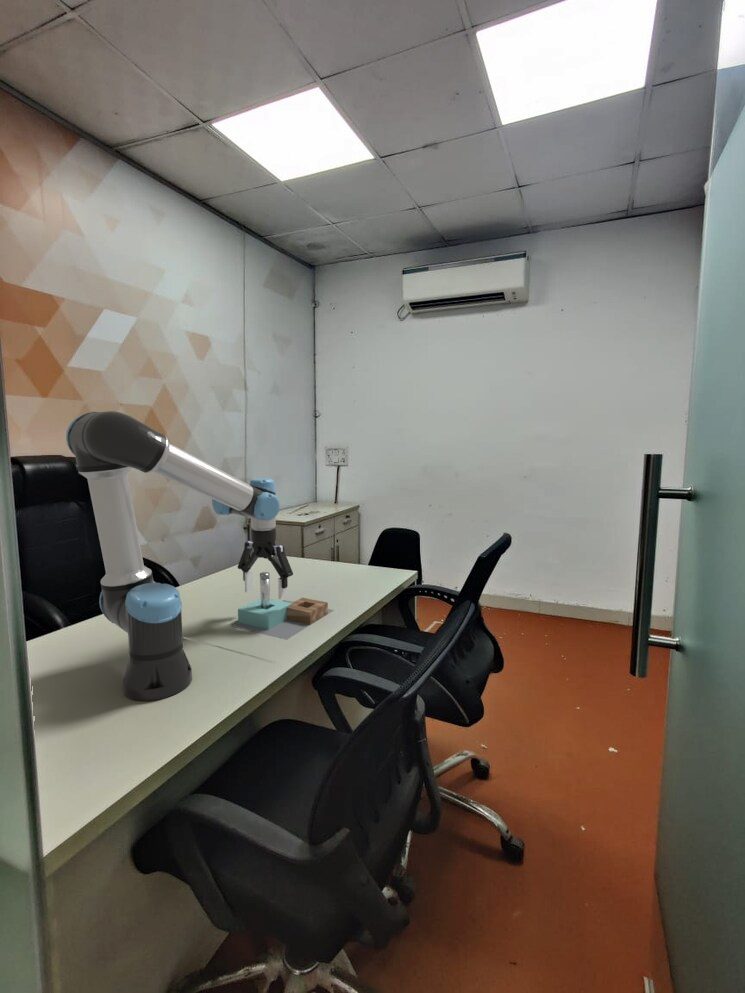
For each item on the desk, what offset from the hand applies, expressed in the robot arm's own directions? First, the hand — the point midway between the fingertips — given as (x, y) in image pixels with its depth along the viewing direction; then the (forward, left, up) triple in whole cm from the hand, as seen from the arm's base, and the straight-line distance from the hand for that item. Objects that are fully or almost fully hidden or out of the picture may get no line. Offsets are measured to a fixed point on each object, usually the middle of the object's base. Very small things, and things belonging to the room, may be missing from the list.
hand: (265, 594), depth 152 cm
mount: (+8, -10, -8) cm, 15 cm away
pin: (0, 0, -8) cm, 8 cm away
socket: (0, 0, -8) cm, 8 cm away
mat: (+4, -4, -9) cm, 11 cm away
